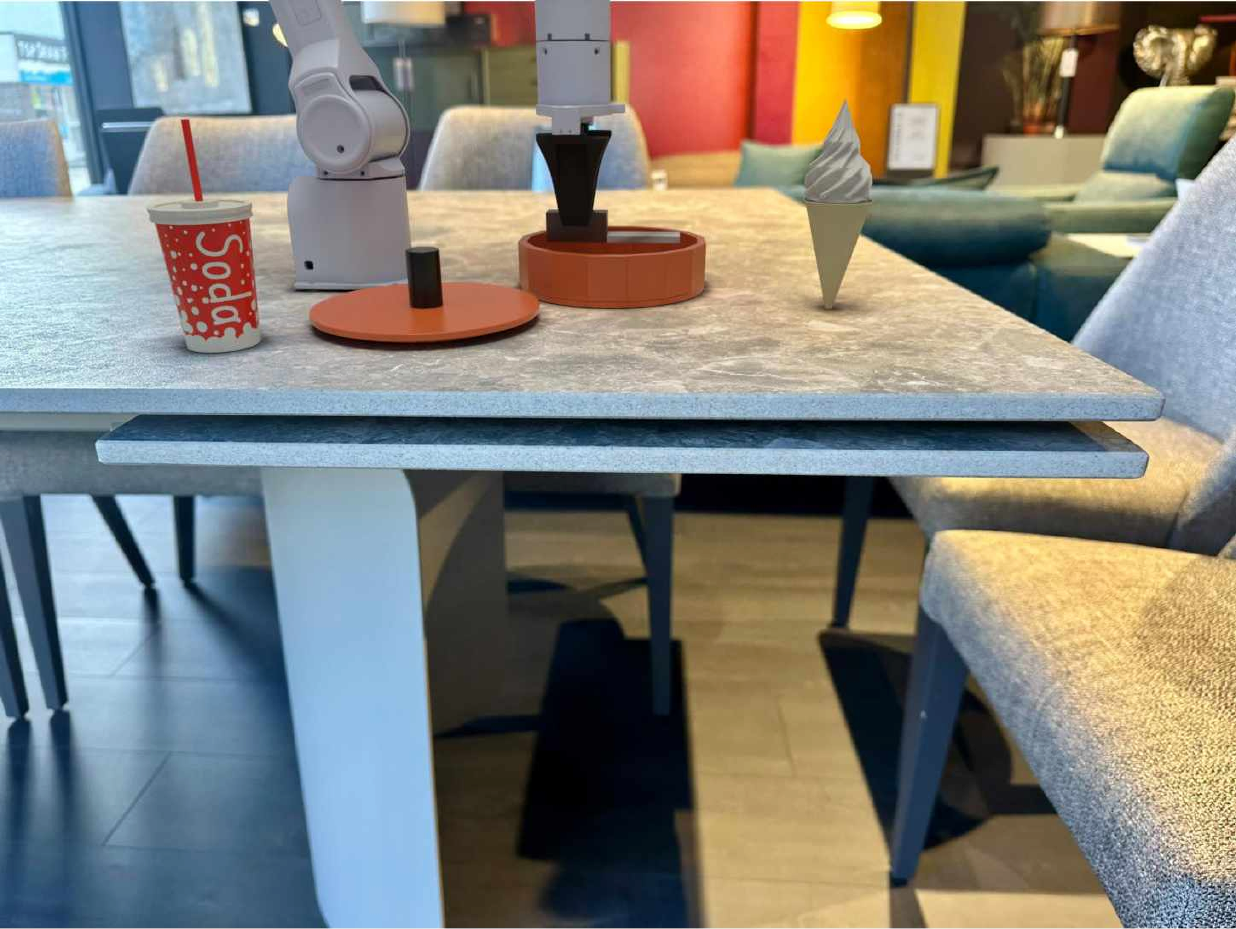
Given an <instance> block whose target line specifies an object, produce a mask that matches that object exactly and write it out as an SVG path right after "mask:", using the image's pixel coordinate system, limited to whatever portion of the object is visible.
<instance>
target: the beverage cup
mask: <svg viewBox="0 0 1236 929" xmlns="http://www.w3.org/2000/svg"><path fill="white" fill-rule="evenodd" d="M180 122H181V123H180V124H181V129H182V134H183V140H184V147H185V152H186V157H187V164H188V168H189V175H190V180H191V186H192V191H193V197H194V198H193V199H192V198H191V199H184V200H175V201H165V202H160V203H154V204H150V205H148V206H146V212H147V213H148V214H149V221H150V223H153V224H154V226H155V231H156V234H157V237H158V242H159V245H160V249H161V253H162V256H163V260H164V261H163V262H164V265H165V269H166V272H167V276H168V280H169V284H170V288H171V291H172V295H173V298H174V303H175V306H176V311H177V314H178V318H179V322H180V325H181V330H182V334H183V338H184V341H185V344H186V345H185V346H186V347H187V349H188V350H189V351H191V352H195V353H206V354H212V353H213V354H214V353H227V352H234V351H235V352H236V351H240V350H245V349H249V348H252V347H254V346H256V345H258V344H259V343H260V342H261V341H262V336H261V327H260V316H259V315H260V314H259V305H258V294H257V285H256V274H255V272H256V271H255V262H254V252H253V241H252V231H251V230H252V229H251V218H252V217H253V216H254V214H253V211H252V210H253V203H252V202H251V201H250V200H245V199H235V198H204V197H203V191H202V184H201V179H200V174H199V168H198V161H197V156H196V151H195V145H194V139H193V133H192V127H191V122H190V119H188V118H184V119H180Z"/></svg>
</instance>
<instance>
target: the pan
mask: <svg viewBox="0 0 1236 929" xmlns="http://www.w3.org/2000/svg"><path fill="white" fill-rule="evenodd" d="M609 231H611V232H680V243H607V242H606V243H595V242H547V239H546V229H544V230H538V231H535V232H531V233H527V234H525V235H522V236H521V237H520V239H519V240H518V241H517V250H518V252H517V253H518V273H519V274H518V275H519V284H520V286H521V290H522V291H525V292H527V293H530V294H532V295H533V296H535V297H536V298H537V299H538V300H539V301H540V302H545V303H549V304H553V305H554V304H555V305H561V306H567V307H568V306H569V307H576V308H577V307H579V308H593V309H633V308H634V309H635V308H647V307H657V306H663V305H670V304H676V303H679V302H685V301H688V300H690V299H694V298H695V297H697V296H699V295H700V294H702V292H703V291H704V289H705V288H704V287H705V284H706V282H705V281H706V256H707V241H706V238H705V237H704V236H702V235H700V234H697V233H695V232H691V231H687V230H681V229H675V228H669V227H668V228H667V227H657V226H645V225H609V224H608V232H609Z"/></svg>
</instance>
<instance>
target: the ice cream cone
mask: <svg viewBox="0 0 1236 929" xmlns="http://www.w3.org/2000/svg"><path fill="white" fill-rule="evenodd" d="M863 157H864V156H862V155H861V140H860V138H859V135H858V133H857V130H856V128H855V125H854V121H853V118H852V115H851V112H850V108H849V105H848V100H847V98H845V99H844V101H843V103H842V105H841V108H840V110H839V112H838V113H837V116H836V118H835V119H834V122H833V124H832V126H831V128H830V130H828V133H827V135H826V136H825V138H824V140H823V144H822V150H821V154H820V155H819V156H818V157H817V158H815V159H814V160H813V161H812V162H811V163H810V164H809V165H808V172H807V173H806V174H805V177H804V180H803V184H804V187H805V190H804V191H803V194H804V195H805V196H806V197H805V198H803V202H805V208H806V214H807V218H808V224H809V228H810V234H811V239H812V244H813V245H812V246H813V251H814V256H815V262H816V268H817V272H818V278H819V283H820V289H821V294H822V298H823V304H824V309H826V310H832V309H833V306H834V303H835V301H836V298H837V295H838V293H839V290H840V288H841V286H842V282H843V279H844V277H845V274H846V272H847V269H848V266H849V264H850V261H851V259H852V257H853V253H854V250H855V248H856V245H857V243H858V240H859V238H860V235H861V233H862V229H863V227H864V224H865V221H866V219H867V216H868V213H869V210H870V208H871V205H872V204H873V203H874V200H873V199H870V193H871V189H872V186H873V174H872V173H871V165H870V164H869V162H867V161H866V160H865V158H863Z"/></svg>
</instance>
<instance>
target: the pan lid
mask: <svg viewBox="0 0 1236 929" xmlns="http://www.w3.org/2000/svg"><path fill="white" fill-rule="evenodd" d="M405 257H406V268H407V279H408V284H396V285H387V286H380V287H372V288H367V289H361V290H352V291H348V292H343V293H340V294H336V295H333V296H331V297H330V296H329V297H328V298H325V299H323V300H320V301H319V302H317V303H316V304H315V305H313V306H312V307H311V308H310V309H309V313H308V317H309V321H310V323H311V325H312V326H313V327H314V328H315V329H317V330H319V331H321V332H323V333H327V334H330V335H334V336H338V337H343V338H347V339H354V340H364V341H371V342H380V343H393V344H427V343H443V342H452V341H459V340H467V339H473V338H477V337H481V336H482V337H483V336H486V335H489V334H494V333H499V332H502V331H506V330H509V329H513V328H516V327H519V326H521V325H523V324H526V323H528V322H530V321H532V320H533V319H535V317H537V315H538V314H539V313H540V308H541V307H540V300H538V299H537V298H536V297H535V296H533V295H532V294H530V293H527V292H525V291H522V289H518V288H514V287H510V286H505V285H498V284H491V283H481V282H468V281H467V282H466V281H465V282H464V281H443V279H442V267H441V253H440V249H439V247H434V246H415V247H414V246H413V247H412V248H409V249H406V250H405Z"/></svg>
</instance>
